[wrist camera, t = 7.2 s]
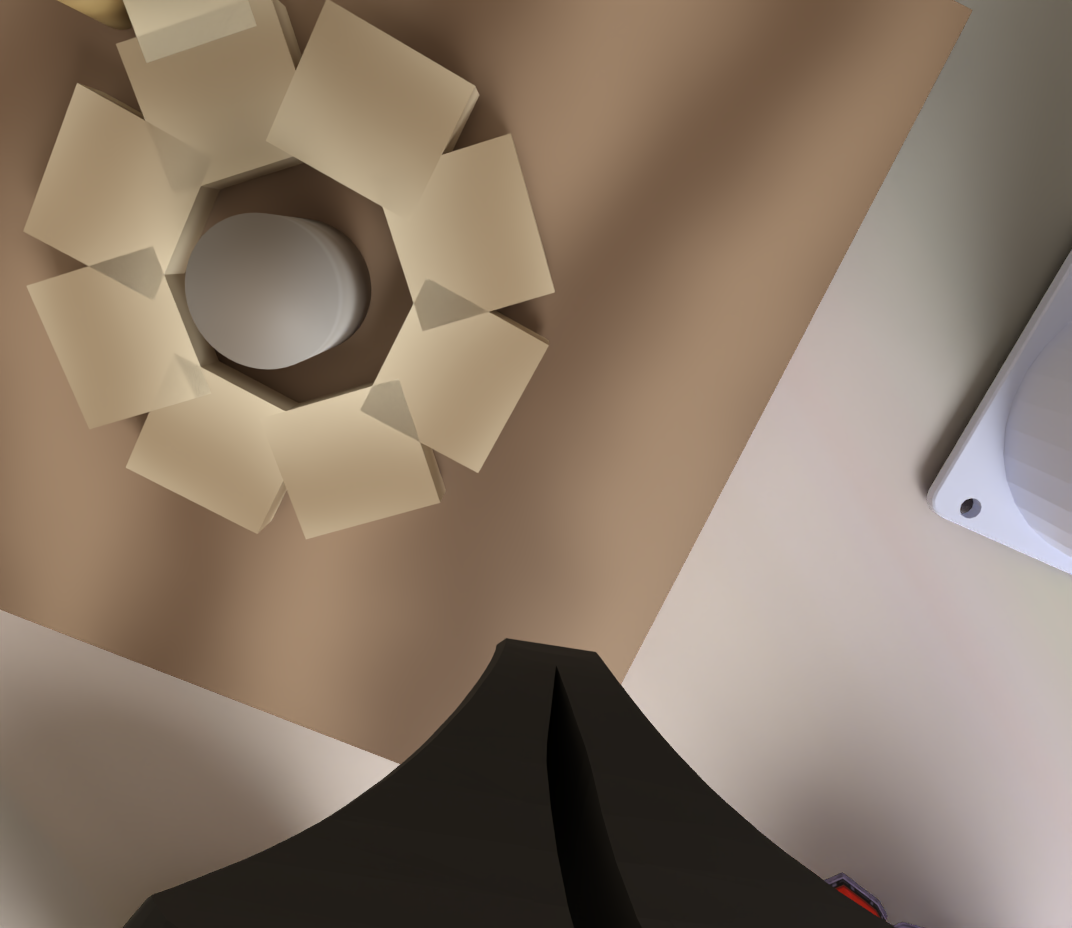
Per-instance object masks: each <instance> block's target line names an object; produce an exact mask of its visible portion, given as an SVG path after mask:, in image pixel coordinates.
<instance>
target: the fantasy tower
mask: <svg viewBox="0 0 1072 928" xmlns="http://www.w3.org/2000/svg"><path fill="white" fill-rule="evenodd" d="M824 881H825V882H827V883H828V884H829V885H831V886H832V887H834V888H835V889H836V890H838V891H839V892H841V893H842V894H844V895H845V896H847V897H848V898H850V899H851V900H853V901H855V902H856V903H858V904H859V905H861V906H862V907H864V908H865V909H867V910H868V911H870V912H871V913H873V914H874V915H876V916H877V917H879V918H881V919H882V920H884V921H886V919H887V914H886V912H885V911H884V909H883V907H882V905H881V903H880V901H879V900H878V899H877V898H875V897H874V896H873V895H871V894H870V893H869V892H867V891H866V890H865V889H863V888H862V887H861V886H859V885H858V884H857V883H856V882H854V881H853V880H852V879H850V878H849V877H848V876H846V875H845V874H844V873H840V874H838V875H835V876H833V877H831V878H828V879H826V880H824ZM894 927H896V928H924V927H920V926H916V925H912V924H908V923H904V922H901V923H899V924H896V925H894Z"/></svg>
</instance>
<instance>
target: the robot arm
mask: <svg viewBox="0 0 1072 928" xmlns="http://www.w3.org/2000/svg"><path fill="white" fill-rule="evenodd" d="M970 498H973V502H974V503H973V506H972V508H971V509H970V510H969V511H968V512H966V513H963V514H962V513H961V512H960V507H961V504H962V503H963V502H964V501H965V500H967V499H970ZM927 504H928V506H929V507H930V509H931V510H932V511H933V512H935V513H936V514H938V515H939V516H941V517H942V518H944V519H947V520H949V521H951V522H953V523H956V524H958V525H960V526H963V527H965V528H967V529H969V530H972V531H974V532H976V533H978V534H981V535H983V536H985V537H987V538H990V539H992V540H994V541H996V542H999V543H1001V544H1003V545H1006V546H1008V547H1010V548H1012V549H1015V550H1017V551H1019V552H1021V553H1024V554H1026V555H1028V556H1030V557H1033V558H1035V559H1037V560H1039V561H1042V562H1044V563H1046V564H1049V565H1051V566H1053V567H1055V568H1058V569H1060V570H1062V571H1064V572H1067V573H1069V574H1071V575H1072V249H1071V251H1070V253H1069V255H1068V256H1067V258H1066V260H1065V261H1064V263H1063V265H1062V266H1061V268H1060V270H1059V271H1058V273H1057V275H1056V276H1055V278H1054V280H1053V281H1052V283H1051V285H1050V287H1049V288H1048V290H1047V292H1046V293H1045V295H1044V297H1043V298H1042V300H1041V302H1040V303H1039V305H1038V307H1037V308H1036V310H1035V312H1034V313H1033V315H1032V317H1031V319H1030V320H1029V322H1028V324H1027V325H1026V327H1025V329H1024V330H1023V332H1022V334H1021V335H1020V337H1019V339H1018V340H1017V342H1016V344H1015V345H1014V347H1013V349H1012V351H1011V352H1010V354H1009V356H1008V357H1007V359H1006V361H1005V362H1004V364H1003V366H1002V367H1001V369H1000V371H999V372H998V374H997V376H996V377H995V379H994V381H993V383H992V384H991V386H990V388H989V389H988V391H987V393H986V394H985V396H984V398H983V399H982V401H981V403H980V404H979V406H978V408H977V409H976V411H975V413H974V415H973V416H972V418H971V420H970V421H969V423H968V425H967V426H966V428H965V430H964V431H963V433H962V435H961V436H960V438H959V440H958V442H957V443H956V445H955V447H954V448H953V450H952V452H951V453H950V455H949V457H948V458H947V460H946V462H945V463H944V465H943V467H942V468H941V470H940V472H939V474H938V475H937V477H936V479H935V480H934V482H933V484H932V485H931V487H930V489H929V491H928V494H927ZM123 928H896V927H894V926H892V925H891V924H889V923H887V922H886V921H884V920H882V919H881V918H879V917H877V916H876V915H874V914H873V913H871V912H870V911H868V910H867V909H865V908H864V907H862V906H861V905H859V904H858V903H856V902H855V901H853V900H851V899H850V898H848V897H847V896H845V895H844V894H842V893H841V892H839V891H838V890H836V889H835V888H834V887H832V886H831V885H829V884H828V883H827V882H825V881H824V880H823V879H821V878H820V877H818V876H817V875H816V874H814V873H813V872H812V871H810V870H809V869H808V868H806V867H805V866H803V865H802V864H801V863H799V862H798V861H797V860H795V859H794V858H792V857H791V856H790V855H788V854H787V853H786V852H784V851H783V850H782V849H781V848H779V847H778V846H777V845H776V844H774V843H773V842H772V841H771V840H769V839H768V838H767V837H766V836H764V835H763V834H762V833H761V832H759V831H758V830H757V829H756V828H755V827H754V826H753V825H751V824H750V823H749V822H748V821H747V820H746V819H745V818H744V817H742V816H741V815H740V814H739V813H738V812H737V811H736V810H734V809H733V808H732V807H731V806H730V805H729V804H728V803H726V802H725V801H724V800H723V799H722V798H721V797H720V796H719V795H718V794H717V793H716V792H715V791H714V790H712V789H711V788H710V787H709V786H708V785H707V784H706V783H705V782H704V781H703V780H702V779H701V778H700V777H699V776H698V775H697V773H696V772H695V771H694V770H693V769H692V768H691V767H690V766H689V765H688V764H687V763H686V762H685V761H684V760H683V759H682V758H681V757H680V756H679V755H678V754H677V752H676V751H675V750H674V749H673V748H672V747H671V746H670V745H669V743H668V742H667V741H666V740H665V739H664V738H663V737H662V736H661V734H660V733H659V732H658V731H657V730H656V728H655V727H654V726H653V725H652V724H651V723H650V721H649V720H648V719H647V718H646V716H645V715H644V714H643V713H642V711H641V710H640V709H639V708H638V706H637V705H636V704H635V703H634V701H633V700H632V699H631V697H630V696H629V695H628V694H627V692H626V691H625V690H624V688H623V687H622V686H621V684H620V683H619V682H618V680H617V679H616V678H615V676H614V675H613V674H612V672H611V671H610V669H609V668H608V667H607V665H606V664H605V663H604V661H603V660H602V659H601V657H600V656H599V655H598V654H597V652H594V651H587V650H581V649H574V648H568V647H561V646H555V645H548V644H542V643H535V642H529V641H522V640H516V639H509V638H506V639H504V640H503V641H501V642H500V643H498V644H497V645H496V650H495V652H494V655H493V657H492V659H491V661H490V663H489V664H488V666H487V668H486V669H485V671H484V672H483V674H482V676H481V677H480V679H479V680H478V682H477V683H476V684H475V685H474V687H473V688H472V689H471V691H470V692H469V693H468V695H467V696H466V697H465V698H464V700H463V701H462V702H461V704H460V705H459V706H458V707H457V709H456V710H455V711H454V712H453V713H452V714H451V715H450V716H449V717H448V718H447V720H446V721H445V722H444V723H443V724H442V725H441V726H440V727H439V728H438V729H437V730H436V731H435V732H434V733H433V735H432V736H431V737H430V738H429V739H428V740H427V741H426V742H425V743H424V744H423V745H422V746H421V747H419V748H418V749H417V750H416V751H415V752H414V753H413V754H412V755H411V756H410V757H409V758H407V759H406V760H405V761H404V762H403V763H402V764H400V765H399V766H398V767H397V768H396V769H394V770H393V771H392V772H391V773H390V774H388V775H387V776H386V777H385V778H383V779H382V780H381V781H380V782H378V783H377V784H375V785H374V786H373V787H371V788H370V789H368V790H367V791H366V792H364V793H363V794H361V795H360V796H359V797H357V798H356V799H354V800H353V801H352V802H350V803H349V804H347V805H346V806H344V807H343V808H341V809H340V810H338V811H337V812H335V813H334V814H332V815H331V816H329V817H327V818H326V819H324V820H322V821H321V822H319V823H317V824H315V825H314V826H312V827H310V828H308V829H306V830H304V831H303V832H301V833H299V834H297V835H295V836H293V837H291V838H289V839H287V840H285V841H283V842H281V843H279V844H277V845H275V846H273V847H271V848H269V849H267V850H265V851H262V852H260V853H258V854H256V855H254V856H251V857H249V858H247V859H245V860H242V861H240V862H237V863H235V864H232V865H230V866H227V867H225V868H222V869H220V870H217V871H214V872H212V873H209V874H207V875H204V876H202V877H199V878H197V879H194V880H192V881H189V882H187V883H184V884H181V885H179V886H176V887H174V888H171V889H168V890H165V891H162V892H159V893H156V894H154V895H152V896H150V897H149V898H148V899H147V900H146V901H145V902H144V903H143V904H142V905H141V907H140V908H139V909H138V910H137V911H136V912H135V914H134V915H133V916H132V917H131V918H130V919H129V921H128V922H127V923H126V924H125V926H124V927H123Z"/></svg>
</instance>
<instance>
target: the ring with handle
mask: <svg viewBox="0 0 1072 928" xmlns="http://www.w3.org/2000/svg"><path fill="white" fill-rule="evenodd" d="M123 2H124V5H125V7H126V10H127V12H128V15H129V18H130V20H131V23H132V26H133V28H134V31H135V34H136V36H137V37H135V38H132V39H129V40H126V41H123V42H120V43H117V44H116V46H117V48H118V51H119V54H120V56H121V59H122V62H123V64H124V67H125V69H126V72H127V75H128V77H129V80H130V82H131V85H132V88H133V90H134V93H135V95H136V98H137V101H138V103H139V106H140V108H141V111H142V113H140V112H138V111H137V110H135V109H133V108H131V107H129V106H128V105H126V104H124V103H122V102H120V101H119V100H117V99H115V98H113V97H111V96H110V95H108V94H106V93H104V92H102V91H99V90H96V89H93V88H90V87H88V86H85V85H82V84H79V83H77V85H76V87H75V90H74V93H73V96H72V98H71V101H70V104H69V107H68V109H67V112H66V115H65V118H64V120H63V123H62V126H61V129H60V131H59V134H58V137H57V140H56V142H55V145H54V148H53V151H52V153H51V156H50V159H49V162H48V164H47V167H46V170H45V173H44V175H43V178H42V181H41V184H40V187H39V189H38V192H37V195H36V198H35V200H34V203H33V206H32V209H31V211H30V214H29V217H28V220H27V222H26V225H25V228H24V231H23V232H25V233H27V234H29V235H31V236H33V237H35V238H37V239H39V240H40V241H42V242H44V243H46V244H48V245H50V246H52V247H54V248H55V249H57V250H59V251H61V252H63V253H65V254H67V255H69V256H71V257H72V258H74V259H76V260H78V261H80V262H82V263H84V264H86V265H87V266H88V267H84V268H81V269H78V270H75V271H72V272H69V273H65V274H62V275H59V276H56V277H53V278H49V279H46V280H43V281H40V282H37V283H34V284H30V285H27V289H28V291H29V293H30V296H31V298H32V300H33V302H34V305H35V307H36V309H37V311H38V314H39V316H40V318H41V321H42V323H43V325H44V327H45V330H46V332H47V334H48V336H49V339H50V341H51V343H52V346H53V348H54V350H55V352H56V355H57V357H58V359H59V361H60V364H61V366H62V368H63V371H64V373H65V375H66V377H67V380H68V382H69V384H70V387H71V389H72V391H73V393H74V396H75V398H76V400H77V402H78V405H79V407H80V409H81V412H82V414H83V416H84V418H85V421H86V423H87V425H88V427H89V429H93V428H96V427H99V426H103V425H106V424H110V423H113V422H116V421H120V420H123V419H126V418H130V417H133V416H137V415H140V414H143V413H147V412H149V414H148V416H147V419H146V421H145V423H144V426H143V428H142V430H141V433H140V435H139V437H138V440H137V442H136V444H135V447H134V449H133V451H132V454H131V456H130V458H129V461H128V463H127V465H126V468H127V469H129V470H131V471H133V472H135V473H137V474H139V475H141V476H143V477H145V478H147V479H149V480H151V481H153V482H155V483H157V484H159V485H161V486H163V487H165V488H167V489H169V490H171V491H173V492H175V493H177V494H179V495H181V496H183V497H185V498H187V499H189V500H191V501H193V502H195V503H197V504H199V505H201V506H203V507H205V508H207V509H209V510H211V511H213V512H215V513H217V514H219V515H221V516H222V517H224V518H226V519H228V520H230V521H232V522H234V523H236V524H238V525H240V526H242V527H244V528H246V529H248V530H250V531H252V532H254V533H256V534H258V533H259V532H260V531H261V530H262V529H263V528H264V527H265V526H266V525H267V524H268V523H269V522H271V521H272V519H273V517H274V515H275V513H276V511H277V509H278V507H279V505H280V503H281V501H282V498H283V496H284V494H285V492H286V490H287V491H288V494H289V497H290V499H291V502H292V505H293V507H294V510H295V512H296V515H297V518H298V520H299V523H300V525H301V528H302V531H303V533H304V536H305V538H306V539H309V538H313V537H317V536H320V535H324V534H328V533H331V532H335V531H339V530H342V529H346V528H350V527H353V526H357V525H361V524H364V523H368V522H371V521H375V520H379V519H382V518H386V517H390V516H393V515H397V514H401V513H404V512H408V511H412V510H415V509H419V508H423V507H426V506H430V505H434V504H437V503H440V502H441V500H442V498H443V495H444V493H445V491H446V489H445V486H444V483H443V480H442V477H441V474H440V471H439V468H438V465H437V462H436V459H435V456H434V453H433V450H432V449H434V450H436V451H437V452H439V453H441V454H443V455H445V456H447V457H449V458H451V459H453V460H454V461H456V462H458V463H460V464H462V465H464V466H466V467H468V468H469V469H471V470H473V471H475V472H477V473H479V471H480V469H481V467H482V466H483V464H484V462H485V460H486V458H487V457H488V455H489V453H490V451H491V449H492V448H493V446H494V444H495V442H496V440H497V438H498V437H499V435H500V433H501V431H502V429H503V428H504V426H505V424H506V422H507V420H508V419H509V417H510V415H511V413H512V411H513V410H514V408H515V406H516V404H517V402H518V400H519V399H520V397H521V395H522V393H523V391H524V390H525V388H526V386H527V384H528V382H529V381H530V379H531V377H532V375H533V373H534V372H535V370H536V368H537V366H538V364H539V363H540V361H541V359H542V357H543V355H544V353H545V352H546V350H547V348H548V346H549V340H547V339H546V338H544V337H542V336H540V335H538V334H537V333H535V332H533V331H531V330H529V329H528V328H526V327H524V326H522V325H520V324H519V323H517V322H515V321H513V320H512V319H510V318H508V317H506V316H504V315H503V314H501V313H499V312H497V311H495V310H497V309H500V308H503V307H507V306H510V305H514V304H517V303H520V302H524V301H527V300H530V299H534V298H537V297H541V296H544V295H547V294H551V293H554V292H555V289H554V285H553V282H552V278H551V274H550V271H549V267H548V264H547V260H546V256H545V253H544V249H543V246H542V242H541V238H540V235H539V231H538V228H537V224H536V220H535V217H534V213H533V210H532V206H531V202H530V199H529V195H528V192H527V188H526V184H525V181H524V177H523V174H522V170H521V166H520V163H519V159H518V156H517V152H516V148H515V145H514V141H513V138H512V135H511V133H510V134H507V135H503V136H500V137H497V138H494V139H491V140H488V141H484V142H481V143H478V144H475V145H472V146H469V147H465V148H462V149H459V150H456V151H453V149H454V147H455V145H456V142H457V140H458V138H459V136H460V134H461V132H462V130H463V128H464V126H465V124H466V122H467V120H468V118H469V116H470V114H471V112H472V110H473V108H474V106H475V104H476V102H477V100H478V97H479V93H478V91H477V89H476V87H475V85H473V84H471V83H469V82H468V81H466V80H464V79H463V78H461V77H459V76H458V75H456V74H454V73H453V72H451V71H449V70H447V69H446V68H444V67H442V66H441V65H439V64H437V63H436V62H434V61H432V60H430V59H429V58H427V57H425V56H424V55H422V54H420V53H419V52H417V51H415V50H414V49H412V48H410V47H408V46H407V45H405V44H403V43H402V42H400V41H398V40H397V39H395V38H393V37H391V36H390V35H388V34H386V33H385V32H383V31H381V30H380V29H378V28H376V27H375V26H373V25H371V24H369V23H368V22H366V21H364V20H363V19H361V18H359V17H358V16H356V15H354V14H352V13H351V12H349V11H347V10H346V9H344V8H342V7H341V6H339V5H337V4H336V3H334V2H332V1H330V0H326V1H325V4H324V6H323V8H322V11H321V13H320V15H319V18H318V20H317V22H316V25H315V27H314V29H313V32H312V34H311V36H310V39H309V41H308V43H307V46H306V48H305V50H304V53H303V55H301V52H300V49H299V46H298V43H297V40H296V37H295V34H294V31H293V28H292V25H291V22H290V19H289V16H288V13H287V10H286V7H285V6H284V5H283V4H282V3H281V2H280V1H279V0H123ZM452 151H453V152H452ZM302 163H306V164H308V165H309V166H311V167H313V168H315V169H317V170H318V171H320V172H322V173H324V174H325V175H327V176H329V177H331V178H333V179H334V180H336V181H338V182H340V183H341V184H343V185H345V186H347V187H348V188H350V189H352V190H354V191H356V192H357V193H359V194H361V195H363V196H364V197H366V198H368V199H370V200H372V201H373V202H375V203H377V204H379V205H380V206H382V207H383V210H384V213H385V216H386V219H387V222H388V225H389V228H390V231H391V234H392V238H393V241H394V244H395V247H396V250H397V253H398V256H399V259H400V262H401V265H402V269H403V272H404V275H405V278H406V281H407V284H408V287H409V290H410V293H411V297H412V300H413V303H414V304H413V306H412V308H411V310H410V312H409V314H408V316H407V318H406V320H405V322H404V324H403V326H402V328H401V330H400V332H399V334H398V336H397V338H396V340H395V342H394V344H393V346H392V348H391V350H390V352H389V354H388V356H387V358H386V360H385V362H384V364H383V366H382V368H381V370H380V372H379V374H378V376H377V378H376V380H375V381H374V382H370V383H367V384H364V385H360V386H357V387H353V388H350V389H346V390H343V391H339V392H336V393H333V394H329V395H326V396H322V397H319V398H315V399H312V400H308V401H305V402H301V403H298V402H296V401H294V400H292V399H290V398H288V397H286V396H284V395H282V394H281V393H279V392H277V391H275V390H273V389H271V388H269V387H267V386H265V385H263V384H262V383H260V382H258V381H256V380H254V379H252V378H250V377H248V376H246V375H244V374H243V373H241V372H239V371H237V370H235V369H233V368H231V367H229V366H227V365H226V364H224V363H222V362H220V361H219V360H218V357H217V355H216V352H215V350H214V347H212V346H211V345H210V344H209V342H208V341H207V340H206V339H205V338H204V337H203V335H202V334H201V333H200V331H199V330H198V328H197V326H196V325H195V323H194V321H193V319H192V316H191V314H190V311H189V308H188V304H187V300H186V294H185V272H186V268H187V264H188V260H189V258H190V255H191V253H192V251H193V249H194V247H195V245H196V244H197V242H198V241H199V238H200V236H201V234H202V231H203V229H204V227H205V224H206V222H207V219H208V217H209V215H210V212H211V210H212V208H213V205H214V203H215V200H216V198H217V196H218V193H219V191H220V189H223V188H227V187H230V186H233V185H236V184H239V183H242V182H245V181H248V180H252V179H255V178H258V177H261V176H264V175H267V174H270V173H273V172H277V171H280V170H283V169H286V168H289V167H292V166H295V165H299V164H302Z"/></svg>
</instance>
